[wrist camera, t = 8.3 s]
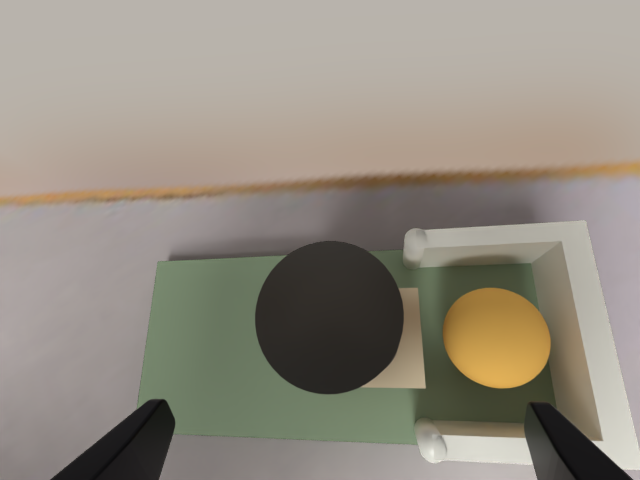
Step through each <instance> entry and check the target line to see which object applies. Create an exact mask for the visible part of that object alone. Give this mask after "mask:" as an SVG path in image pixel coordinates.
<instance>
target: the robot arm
mask: <svg viewBox="0 0 640 480" xmlns="http://www.w3.org/2000/svg"><path fill="white" fill-rule="evenodd" d="M174 429H175V418H174V415H173V413H172V411H171V409H170V407H169V404H168V402H167V401H166V400H165V399H150V400H148V401H147V402H145V403H144V404H143V405H142V406H140V407H139V408H138V409H137V410H135V411H134V412H133V413H132V414H131V415H129V416H128V417H127V418H126V419H124V420H123V421H122V422H121V423H119V424H118V425H117V426H116V427H115V428H113V429H112V430H111V431H110V432H108V433H107V434H106V435H105V436H103V437H102V438H101V439H100V440H99V441H97V442H96V443H95V444H94V445H92V446H91V447H90V448H89V449H87V450H86V451H85V452H84V453H82V454H81V455H80V456H79V457H78V458H76V459H75V460H74V461H73V462H71V463H70V464H69V465H68V466H66V467H65V468H64V469H63V470H62V471H60V472H59V473H58V474H57V475H55V476H54V477H53V478H52V479H50V480H159V477H160V474H161V471H162V468H163V465H164V461H165V458H166V455H167V452H168V449H169V445H170V442H171V439H172V436H173V433H174ZM524 433H525V437H526V441H527V444H528V448H529V451H530V455H531V458H532V462H533V465H534V469H535V472H536V476H537V479H538V480H633V479H632V478H631V477H630V476H629V475H628V474H627V473H625V472H624V471H623V470H622V469H621V468H620V467H619V466H618V465H617V464H616V463H615V462H614V461H612V460H611V459H610V458H609V457H608V456H607V455H606V454H605V453H604V452H603V451H602V450H600V449H599V448H598V447H597V446H596V445H595V444H594V443H593V442H592V441H591V440H590V439H589V438H587V437H586V436H585V435H584V434H583V433H582V432H581V431H580V430H579V429H578V428H577V427H576V426H574V425H573V424H572V423H571V422H570V421H569V420H568V419H567V418H566V417H565V416H564V415H562V414H561V413H560V412H559V411H558V410H557V409H556V408H555V407H554V406H553V405H552V404H550V403H549V402H546V401H529V402H528V403H527V407H526V414H525V420H524Z"/></svg>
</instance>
